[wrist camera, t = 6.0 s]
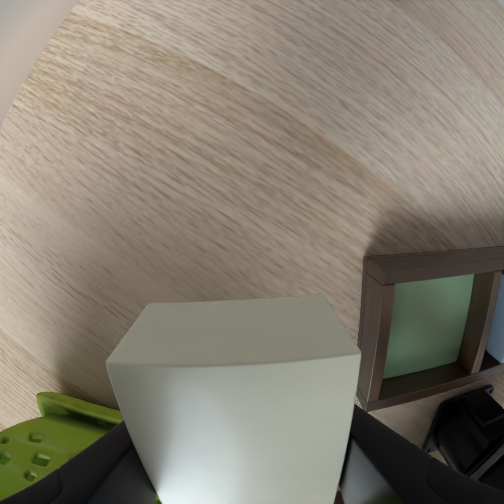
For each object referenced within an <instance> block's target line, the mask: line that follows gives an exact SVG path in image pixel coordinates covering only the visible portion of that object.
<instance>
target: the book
mask: <svg viewBox="0 0 504 504" xmlns="http://www.w3.org/2000/svg"><path fill="white" fill-rule="evenodd" d="M334 504H345V502H344V499H343V496H342V493H341V492H337V493H336V497H335V500H334Z"/></svg>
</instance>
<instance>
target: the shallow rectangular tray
mask: <svg viewBox="0 0 504 504" xmlns="http://www.w3.org/2000/svg"><path fill="white" fill-rule="evenodd" d="M501 270H504V246H499V247H487V248H475V249H462V250H449V251H436V252H423V253H409V254H395V255H381V256H366V257H364V258H363V281H362V298H361V312H360V324H359V334H358V344H357V346H358V348H359V349H360V351H361V360H360V369H359V377H358V384H357V391H356V396H357V398H358V400H359V402H360V404H361V406H362V408H363V410H364V411H365V412H368V411H373V410H377V409H382V408H387V407H391V406H395V405H399V404H403V403H407V402H411V401H415V400H418V399H422V398H426V397H429V396H432V395H436V394H439V393H442V392H446V391H449V390H452V389H455V388H458V387H461V386H464V385H467V384H469V383H472V382H475V381H478V380H480V379H483V378H485V377H488V376H491V375H493V374H496V373H498V372H500V371H503V370H504V363H500V362H499V361H498V360H497V359H495V358H494V357H493V356H492V355H490V354H489V353H488V352H487V351H486V350H485V349H486V345H487V342H488V338H489V334H490V330H491V326H492V322H493V317H494V313H495V308H496V303H497V298H498V293H499V287H500V281H501V274H502V271H501Z"/></svg>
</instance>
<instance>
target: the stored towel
mask: <svg viewBox="0 0 504 504" xmlns="http://www.w3.org/2000/svg"><path fill="white" fill-rule="evenodd" d="M501 271H502V274H501V281H500V287H499V293H498V298H497V303H496V308H495V313H494V317H493V322H492V326H491V330H490V334H489V338H488V342H487V345H486V349H485V350H486V351H487V352H488V353H489V354H490V355H492V356H493V357H494V358H495V359H497V360H498V361H499V362H500V363H504V270H501Z"/></svg>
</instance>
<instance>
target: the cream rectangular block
mask: <svg viewBox="0 0 504 504" xmlns="http://www.w3.org/2000/svg"><path fill="white" fill-rule="evenodd" d="M360 360H361V351H360V349H359V348H358V346H357V344H356V343H355V341H354V340H353V338H352V337H351V335H350V334H349V332H348V331H347V329H346V328H345V326H344V325H343V323H342V321H341V320H340V318H339V317H338V315H337V314H336V312H335V311H334V309H333V308H332V306H331V305H330V303H329V302H328V300H327V299H326V297H325V296H324V294H314V295H302V296H288V297H274V298H259V299H242V300H223V301H202V302H175V303H149V304H148V305H147V306H146V307H145V309H144V310H143V311H142V313H141V314H140V315H139V317H138V318H137V319H136V321H135V322H134V323H133V325H132V326H131V327H130V329H129V330H128V331H127V333H126V334H125V335H124V337H123V338H122V339H121V341H120V342H119V343H118V345H117V346H116V347H115V349H114V350H113V352H112V353H111V354H110V356H109V357H108V358H107V360H106V361H105V366H106V369H107V372H108V376H109V379H110V382H111V385H112V388H113V391H114V394H115V397H116V400H117V403H118V405H119V408H120V411H121V414H122V416H123V419H124V421H125V424H126V427H127V429H128V432H129V434H130V437H131V439H132V442H133V444H134V446H135V449H136V451H137V453H138V455H139V458H140V460H141V462H142V464H143V467H144V469H145V471H146V473H147V475H148V477H149V479H150V481H151V483H152V485H153V487H154V489H155V491H156V493H157V495H158V497H159V499H160V501H161V503H162V504H334V500H335V497H336V493H337V489H338V485H339V481H340V476H341V472H342V468H343V463H344V458H345V454H346V449H347V444H348V439H349V433H350V428H351V422H352V417H353V411H354V404H355V398H356V391H357V384H358V377H359V369H360Z"/></svg>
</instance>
